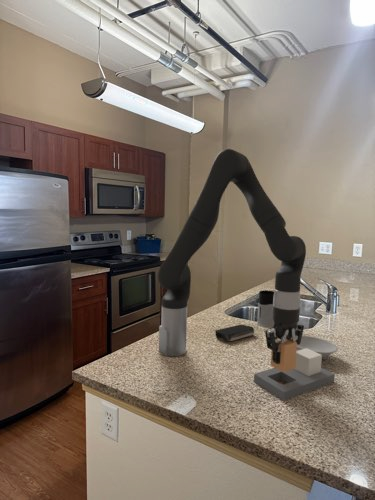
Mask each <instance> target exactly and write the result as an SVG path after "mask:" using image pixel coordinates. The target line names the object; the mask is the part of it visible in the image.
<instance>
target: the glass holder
mask: <svg viewBox="0 0 375 500" xmlns="http://www.w3.org/2000/svg"><path fill="white" fill-rule="evenodd" d="M258 292H259V293H258V302H257V299H256V297H255V295H253V294H249V295H246V299H245V304H246V308H247V310H248V312H249V313H250V314H252V315H253V316H254V317H255V318H256V323H255V324H256V325H257V326H258V327H261V326H262V327H263V328H273V326H274V320H273V318H272V316H273V297H274V291H273V290H259V291H258ZM249 297H253V298H254V303H255V305H257V315H256V314H254V313H253V312H252V311H251V310H250V308H249V306H248V298H249Z"/></svg>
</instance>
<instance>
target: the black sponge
mask: <svg viewBox="0 0 375 500" xmlns="http://www.w3.org/2000/svg"><path fill="white" fill-rule="evenodd" d="M214 332H215V337H216V338H217V339H220V340H224V341H226V342H233V341H237V340H240V339H244V338H247V337H250V336H251V337H252V336H253V335H254V334H255V329H254V327H253V326H250V325H245V324H237V325H234V326H233V325H231V326H227V327H224V328H220V329H216V330H214Z"/></svg>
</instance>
